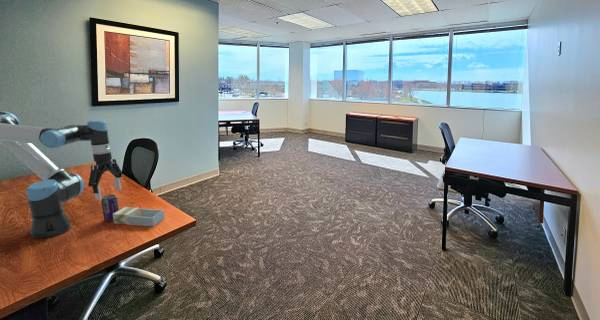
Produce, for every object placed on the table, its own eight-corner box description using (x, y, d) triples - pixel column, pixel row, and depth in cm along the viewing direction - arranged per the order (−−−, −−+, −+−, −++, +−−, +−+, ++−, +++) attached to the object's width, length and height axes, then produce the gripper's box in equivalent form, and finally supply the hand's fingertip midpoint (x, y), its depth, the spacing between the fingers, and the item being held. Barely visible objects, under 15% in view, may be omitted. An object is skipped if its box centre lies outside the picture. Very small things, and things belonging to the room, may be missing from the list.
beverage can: (122, 218, 165) (119, 196, 162) (107, 223, 160) (103, 200, 157) (117, 215, 170) (114, 193, 167) (102, 219, 165) (98, 197, 162)
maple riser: (114, 223, 160) (112, 213, 159) (126, 215, 169) (125, 206, 167) (128, 224, 159) (127, 214, 158) (140, 216, 167) (139, 207, 166)
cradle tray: (129, 224, 159) (128, 216, 157) (141, 216, 168) (140, 208, 167) (153, 226, 156) (152, 217, 155) (164, 218, 166) (164, 210, 165)
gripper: (88, 158, 144) (96, 203, 149) (126, 147, 168) (132, 186, 173) (73, 158, 145) (82, 203, 150) (113, 147, 169) (119, 185, 174)
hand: (109, 194), depth 162 cm, fingers open, 13 cm apart
